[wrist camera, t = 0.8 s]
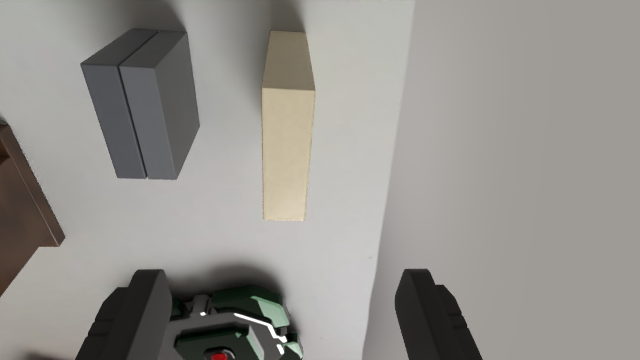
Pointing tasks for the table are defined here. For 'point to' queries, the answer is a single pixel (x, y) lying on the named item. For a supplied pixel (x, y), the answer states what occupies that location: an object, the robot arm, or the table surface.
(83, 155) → the table surface
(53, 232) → the shelf
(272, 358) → the clover-shaped pad
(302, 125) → the cream block
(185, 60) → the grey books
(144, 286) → the robot arm
